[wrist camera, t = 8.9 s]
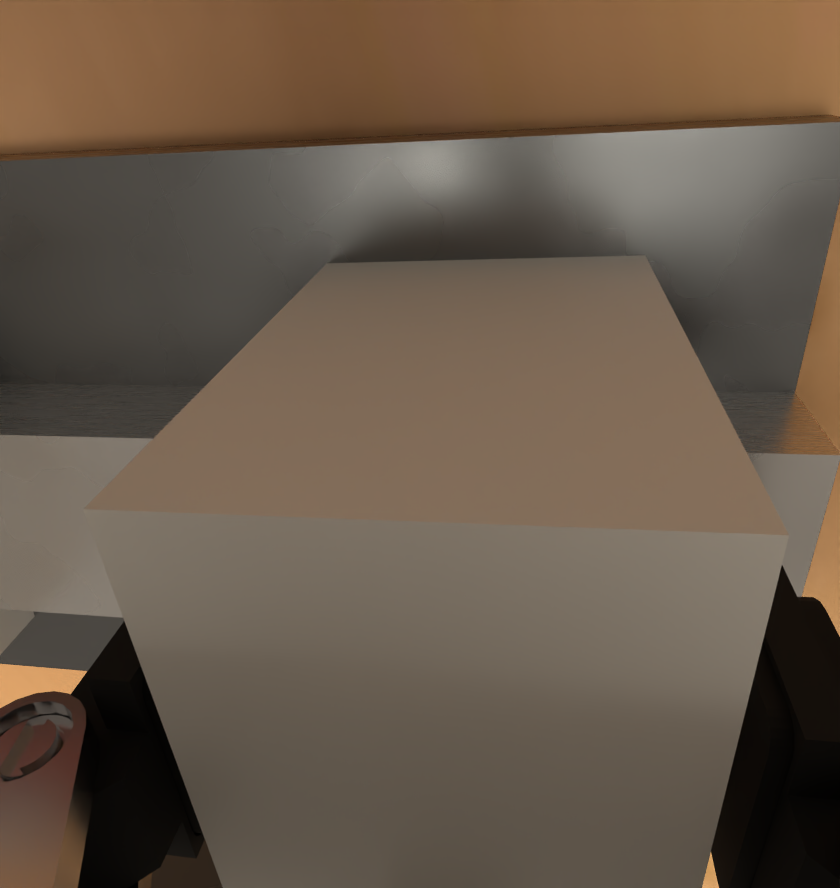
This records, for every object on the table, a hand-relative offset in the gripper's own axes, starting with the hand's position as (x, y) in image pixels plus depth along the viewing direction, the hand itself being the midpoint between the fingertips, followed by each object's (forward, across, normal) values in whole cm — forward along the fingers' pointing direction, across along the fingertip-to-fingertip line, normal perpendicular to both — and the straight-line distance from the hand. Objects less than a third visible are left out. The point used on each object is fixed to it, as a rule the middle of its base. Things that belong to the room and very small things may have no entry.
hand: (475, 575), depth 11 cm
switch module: (+3, 0, 0) cm, 3 cm away
